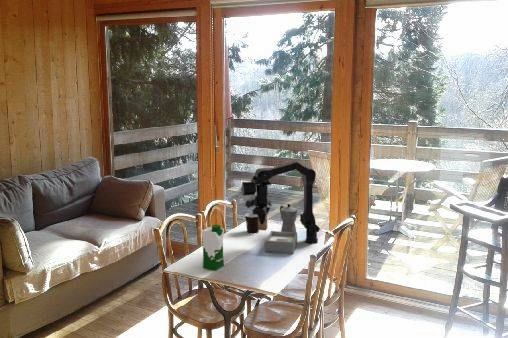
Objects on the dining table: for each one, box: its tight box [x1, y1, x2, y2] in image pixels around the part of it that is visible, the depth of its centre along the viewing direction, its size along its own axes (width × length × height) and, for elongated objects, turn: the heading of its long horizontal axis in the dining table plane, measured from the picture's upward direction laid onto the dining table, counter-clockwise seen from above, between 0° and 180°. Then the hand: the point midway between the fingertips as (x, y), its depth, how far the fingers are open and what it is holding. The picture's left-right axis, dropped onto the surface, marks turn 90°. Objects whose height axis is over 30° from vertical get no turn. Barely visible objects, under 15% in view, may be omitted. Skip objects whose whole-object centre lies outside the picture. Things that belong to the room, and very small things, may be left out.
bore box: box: [264, 230, 298, 255], centre depth 244 cm, size 16×14×6 cm
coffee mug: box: [244, 212, 260, 235], centre depth 268 cm, size 12×9×10 cm
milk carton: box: [200, 224, 225, 272], centre depth 219 cm, size 9×9×20 cm
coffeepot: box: [279, 203, 298, 233], centre depth 263 cm, size 15×9×18 cm, turn 29°
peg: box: [258, 211, 268, 231], centre depth 244 cm, size 4×4×9 cm
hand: (262, 223), depth 244 cm, fingers closed on peg, 4 cm apart
